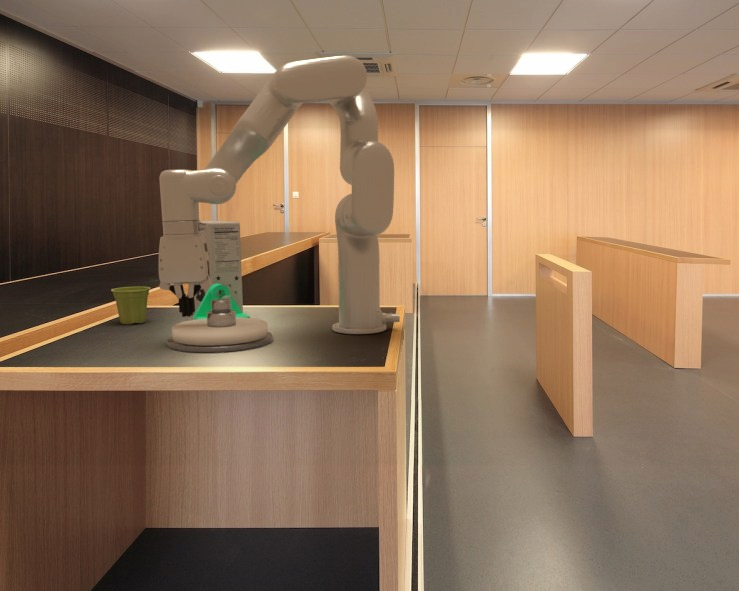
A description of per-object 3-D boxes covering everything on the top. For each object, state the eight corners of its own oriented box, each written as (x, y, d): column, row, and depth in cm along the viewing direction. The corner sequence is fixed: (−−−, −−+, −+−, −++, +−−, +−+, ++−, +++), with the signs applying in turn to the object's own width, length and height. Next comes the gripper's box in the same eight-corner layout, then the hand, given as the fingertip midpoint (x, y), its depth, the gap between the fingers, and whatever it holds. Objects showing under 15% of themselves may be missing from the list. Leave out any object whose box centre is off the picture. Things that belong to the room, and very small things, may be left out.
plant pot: (105, 325, 165) (102, 290, 163) (127, 318, 174) (125, 285, 172) (138, 326, 162) (136, 291, 161) (159, 320, 171) (157, 286, 170)
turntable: (272, 326, 153) (271, 294, 152) (261, 344, 133) (260, 308, 132) (184, 328, 152) (183, 296, 151) (160, 346, 132) (159, 309, 131)
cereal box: (192, 311, 185) (188, 221, 182) (218, 309, 189) (215, 220, 185) (214, 323, 166) (210, 222, 163) (243, 320, 170) (240, 222, 167)
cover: (238, 322, 145) (237, 297, 144) (233, 327, 139) (232, 301, 138) (210, 322, 145) (209, 298, 144) (204, 327, 139) (203, 302, 138)
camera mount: (202, 331, 155) (200, 288, 154) (193, 327, 162) (192, 285, 161) (251, 327, 161) (250, 285, 160) (241, 322, 168) (239, 282, 167)
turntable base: (277, 331, 154) (277, 327, 154) (266, 352, 132) (266, 347, 132) (181, 333, 153) (181, 328, 153) (154, 353, 131) (154, 348, 131)
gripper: (220, 227, 143) (226, 311, 146) (150, 229, 143) (157, 314, 145) (214, 229, 136) (219, 317, 138) (140, 231, 135) (147, 320, 138)
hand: (187, 315), depth 142 cm, fingers closed
